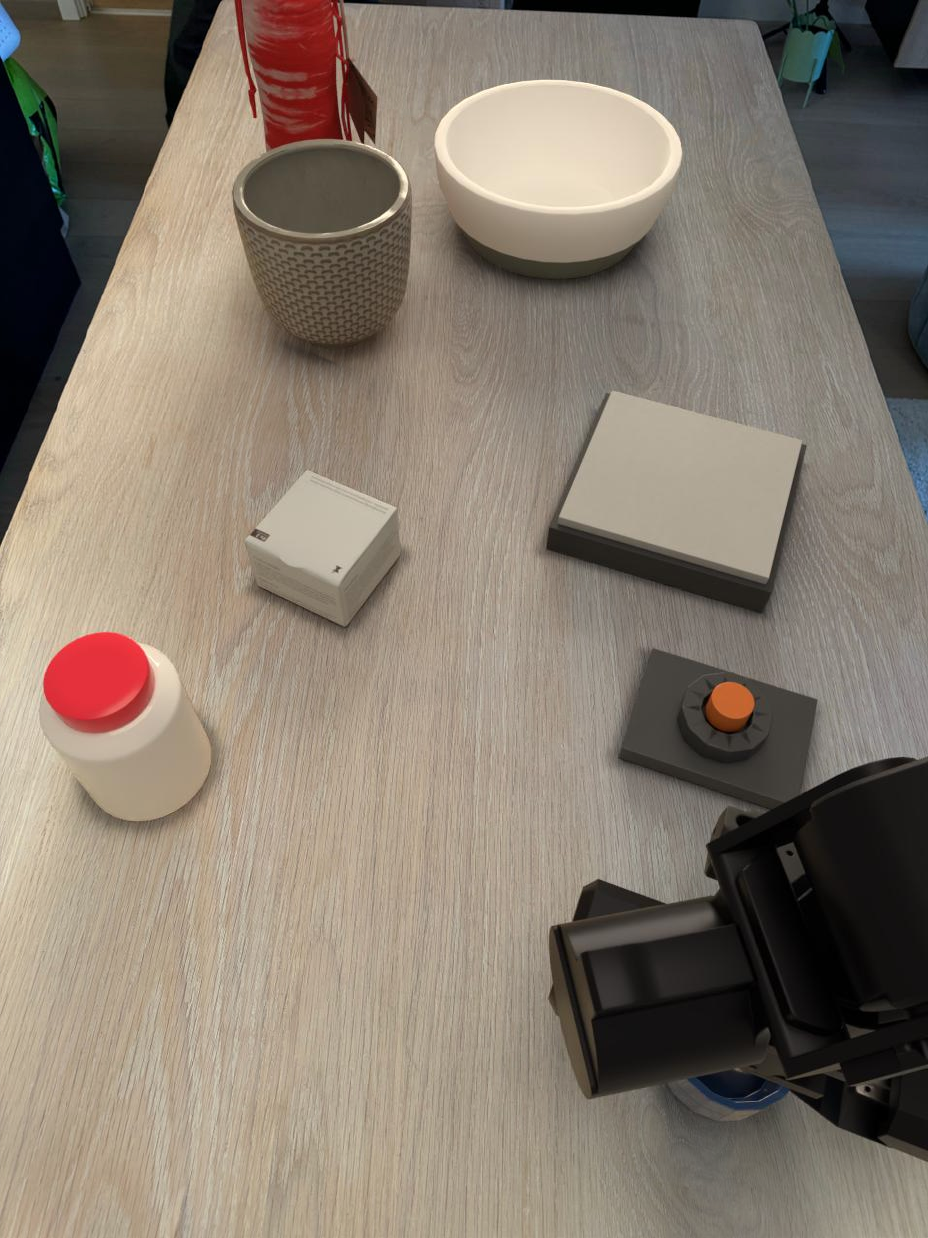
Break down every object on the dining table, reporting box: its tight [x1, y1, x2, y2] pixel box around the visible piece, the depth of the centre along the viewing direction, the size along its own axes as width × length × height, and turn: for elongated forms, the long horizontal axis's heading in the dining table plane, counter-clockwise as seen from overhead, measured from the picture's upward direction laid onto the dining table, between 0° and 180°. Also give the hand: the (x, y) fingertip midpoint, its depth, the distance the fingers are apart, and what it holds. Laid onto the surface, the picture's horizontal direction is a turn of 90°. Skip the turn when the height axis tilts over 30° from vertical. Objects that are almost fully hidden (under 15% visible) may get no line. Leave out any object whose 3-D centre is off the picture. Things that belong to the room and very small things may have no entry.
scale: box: [545, 390, 808, 614], centre depth 71 cm, size 16×15×3 cm
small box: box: [243, 469, 402, 628], centre depth 66 cm, size 8×8×5 cm
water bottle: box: [233, 0, 378, 152], centre depth 83 cm, size 12×8×25 cm, turn 84°
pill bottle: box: [38, 631, 212, 822], centre depth 55 cm, size 8×8×11 cm
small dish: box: [666, 1068, 790, 1122], centre depth 49 cm, size 6×6×4 cm
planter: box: [231, 139, 413, 350], centre depth 78 cm, size 14×14×13 cm
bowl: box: [433, 79, 684, 280], centre depth 89 cm, size 22×22×8 cm
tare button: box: [705, 682, 754, 732], centre depth 58 cm, size 3×3×2 cm
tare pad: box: [618, 647, 818, 810], centre depth 60 cm, size 11×8×3 cm
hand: (720, 1050), depth 49 cm, fingers open, 7 cm apart
